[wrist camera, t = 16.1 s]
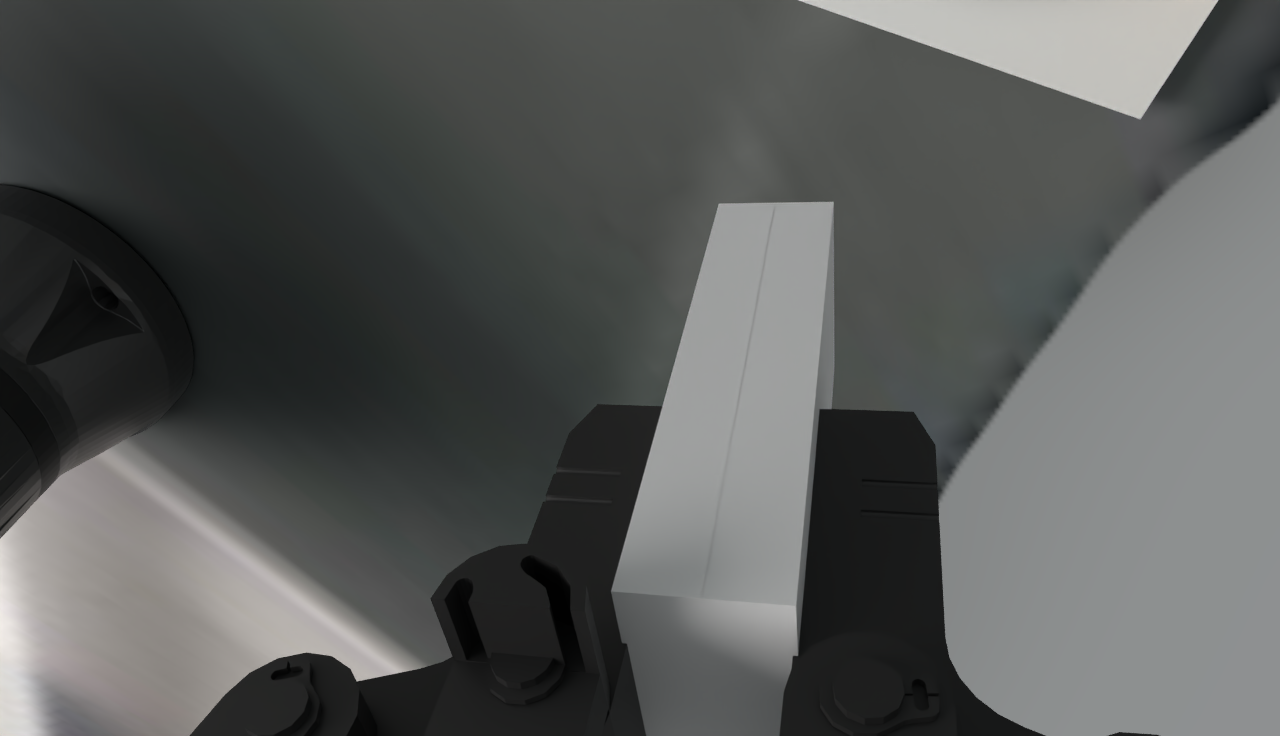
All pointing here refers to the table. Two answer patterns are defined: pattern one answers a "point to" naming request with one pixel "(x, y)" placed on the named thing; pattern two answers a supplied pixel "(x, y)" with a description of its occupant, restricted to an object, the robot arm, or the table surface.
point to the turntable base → (1052, 39)
